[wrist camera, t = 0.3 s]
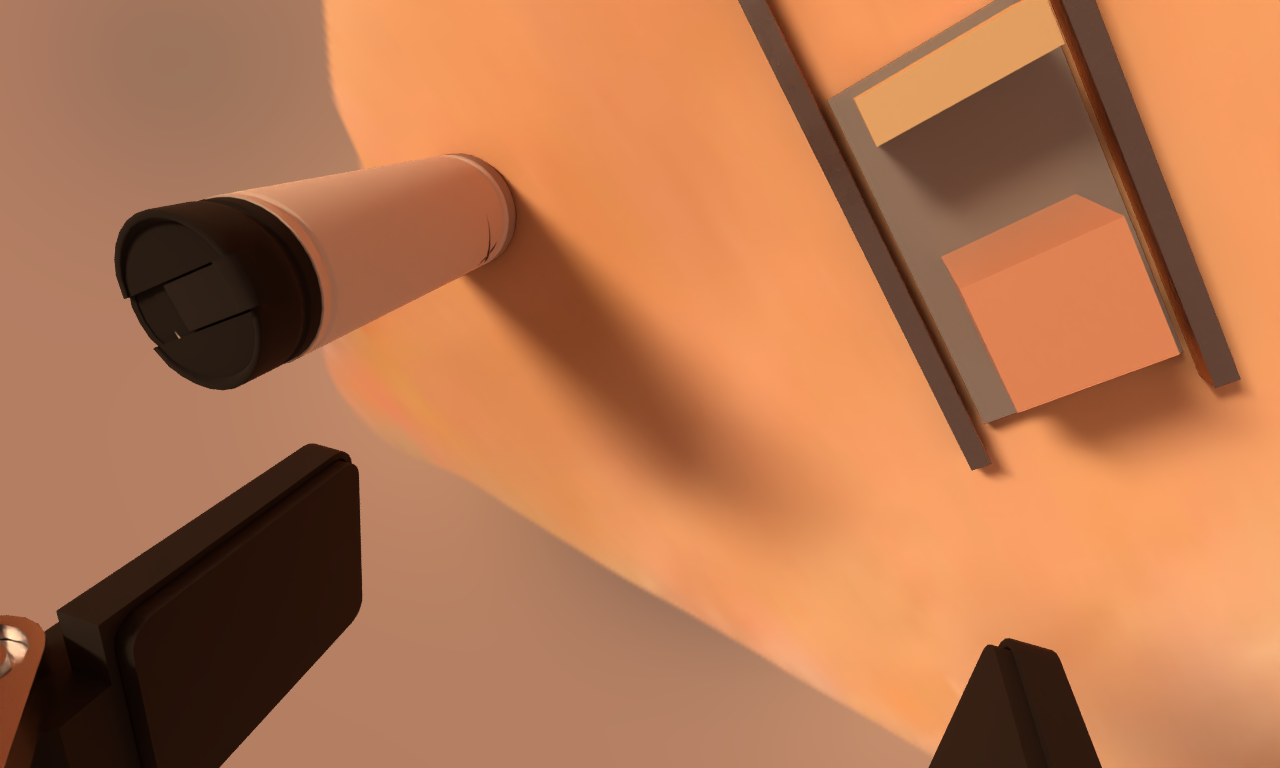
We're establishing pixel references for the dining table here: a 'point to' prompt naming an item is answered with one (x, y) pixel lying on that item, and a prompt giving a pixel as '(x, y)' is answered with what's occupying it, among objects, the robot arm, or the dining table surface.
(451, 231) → the travel mug
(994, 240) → the block
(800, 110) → the rails
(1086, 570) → the dining table surface
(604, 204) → the dining table surface
